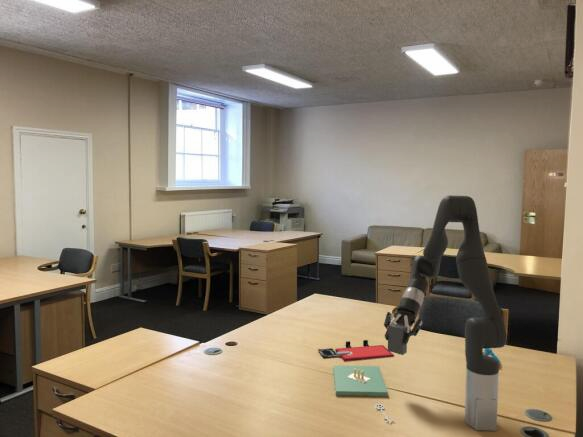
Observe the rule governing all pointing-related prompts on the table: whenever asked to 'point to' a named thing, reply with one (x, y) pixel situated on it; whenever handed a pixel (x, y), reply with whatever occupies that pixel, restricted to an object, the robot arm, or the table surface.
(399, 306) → the robot arm
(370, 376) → the header board
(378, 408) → the key
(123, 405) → the table surface
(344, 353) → the red board with handle
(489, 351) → the gear
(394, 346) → the block
